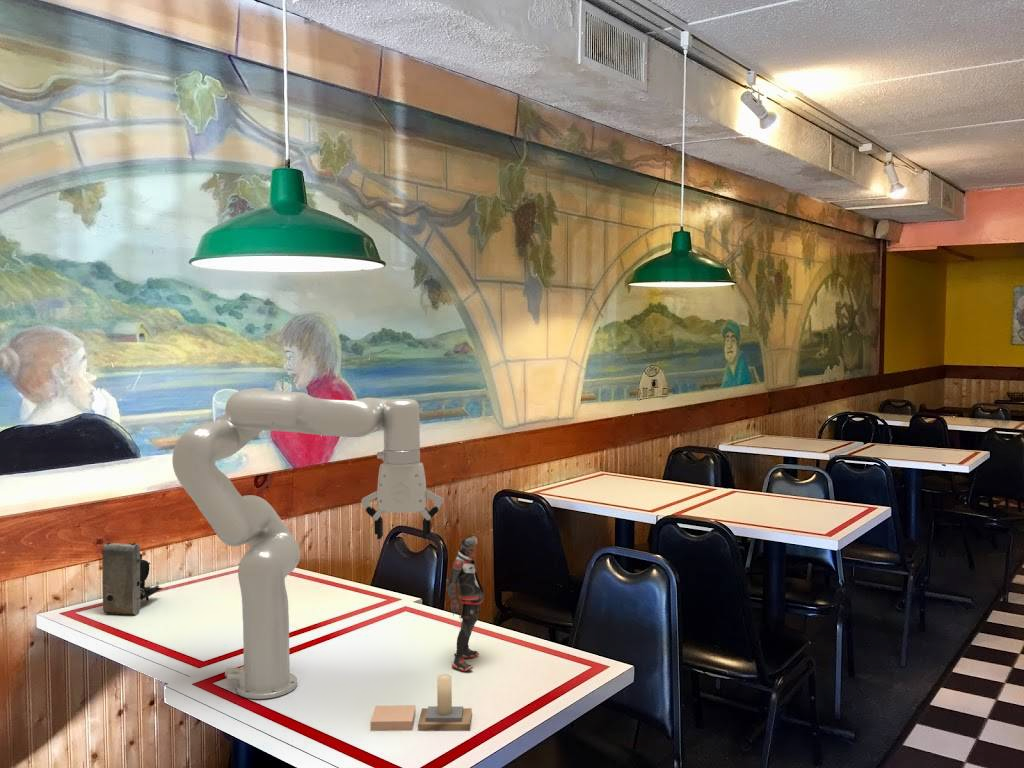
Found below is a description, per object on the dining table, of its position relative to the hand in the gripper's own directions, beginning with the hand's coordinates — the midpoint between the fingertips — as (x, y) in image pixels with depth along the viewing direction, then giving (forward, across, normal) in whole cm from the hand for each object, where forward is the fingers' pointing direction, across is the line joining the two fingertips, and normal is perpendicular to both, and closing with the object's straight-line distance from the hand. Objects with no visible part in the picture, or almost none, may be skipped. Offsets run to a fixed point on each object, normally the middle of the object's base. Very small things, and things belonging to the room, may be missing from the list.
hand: (402, 537), depth 177 cm
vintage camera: (+34, -84, +57) cm, 107 cm away
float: (+32, +10, -14) cm, 37 cm away
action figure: (+34, +12, +16) cm, 39 cm away
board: (+33, +10, -14) cm, 38 cm away
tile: (+33, -4, -14) cm, 36 cm away
